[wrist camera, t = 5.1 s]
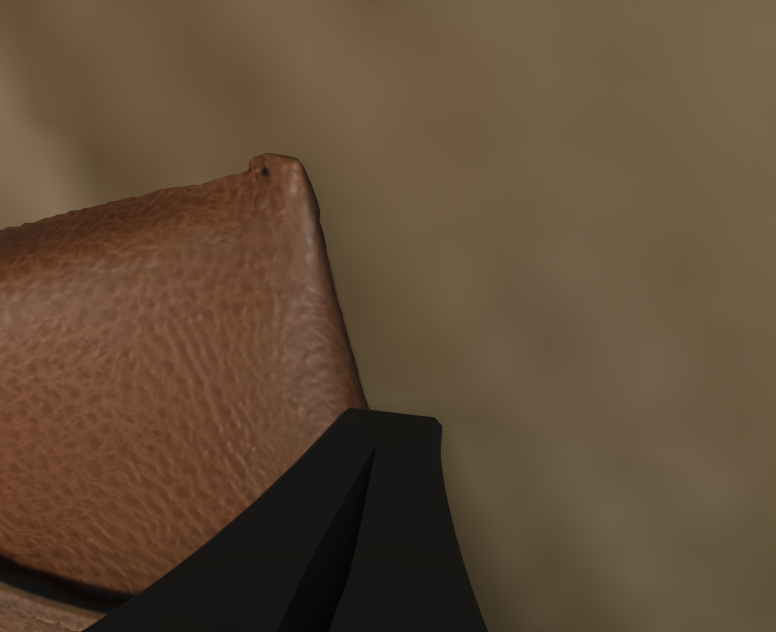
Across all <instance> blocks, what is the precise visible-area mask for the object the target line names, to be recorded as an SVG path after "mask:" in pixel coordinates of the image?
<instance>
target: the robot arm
mask: <svg viewBox="0 0 776 632" xmlns="http://www.w3.org/2000/svg"><path fill="white" fill-rule="evenodd" d="M441 437H442V425H441V424H440V423H439V422H438V421H437V419H436V418H434V417H425V416H417V415H408V414H400V413H392V412H383V411H375V410H366V409H358V408H348V409H347V410H345V411H344V412H343V413H342V414H341V415H340V416H339V417H338V418H337V419H336V420H335V421H334V422H333V423H332V424H331V425H330V427H329V428H328V429H327V430H326V431H325V432H324V433H323V434H322V435H321V436H320V437H319V438H318V439H317V440H316V441H315V443H314V444H313V445H312V446H311V447H310V448H309V449H308V450H307V451H306V452H305V453H304V454H303V455H302V456H301V457H300V458H299V459H298V460H297V461H296V462H295V463H294V464H293V465H292V466H291V467H290V468H289V469H288V470H287V471H286V472H285V473H284V474H283V475H282V476H280V477H279V478H278V479H277V480H276V481H275V482H274V483H273V484H272V485H271V486H270V487H269V488H268V489H267V490H266V491H265V492H264V493H263V494H262V495H261V496H260V497H258V498H257V499H256V500H255V501H254V502H253V503H252V504H251V505H250V506H248V507H247V508H246V509H245V510H244V511H243V512H241V513H240V514H239V515H238V516H237V517H236V518H234V519H233V520H232V521H231V522H230V523H229V524H227V525H226V526H225V527H224V528H223V529H222V530H220V531H219V532H218V533H217V534H216V535H215V536H213V537H212V538H211V539H210V540H209V541H208V542H206V543H205V544H204V545H203V546H201V547H200V548H199V549H198V550H196V551H195V552H194V553H193V554H191V555H190V556H189V557H187V558H186V559H185V560H184V561H182V562H181V563H180V564H178V565H177V566H176V567H174V568H173V569H172V570H170V571H169V572H168V573H166V574H165V575H164V576H162V577H161V578H160V579H158V580H157V581H155V582H154V583H153V584H151V585H150V586H149V587H147V588H146V589H144V590H143V591H142V592H140V593H139V594H137V595H136V596H135V597H133V598H132V599H130V600H129V601H127V602H126V603H124V604H123V605H121V606H120V607H118V608H117V609H115V610H114V611H112V612H111V613H109V614H108V615H106V616H104V617H103V618H101V619H100V620H98V621H97V622H95V623H94V624H92V625H91V626H89V627H87V628H86V629H84V630H83V631H81V632H488V631H487V628H486V626H485V623H484V620H483V618H482V615H481V612H480V610H479V607H478V604H477V601H476V598H475V595H474V593H473V590H472V587H471V584H470V581H469V577H468V574H467V571H466V568H465V565H464V562H463V559H462V555H461V552H460V548H459V545H458V541H457V538H456V534H455V530H454V526H453V522H452V517H451V513H450V509H449V505H448V501H447V496H446V491H445V485H444V479H443V472H442V465H441V453H440V452H441Z"/></svg>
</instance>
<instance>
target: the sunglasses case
mask: <svg viewBox="0 0 776 632" xmlns="http://www.w3.org/2000/svg"><path fill="white" fill-rule="evenodd" d="M319 220H320V209H319V206H318V202H317V199H316V196H315V193H314V190H313V187H312V185H311V182H310V180H309V178H308V176H307V173H306V171H305V169H304V167H303V165H302V164H301V162H300V161H299V160H298V159H296V158H293V157H289V156H284V155H278V154H271V153H266V154H263V155H259V156H255V157H254V158H252V159H251V160H250V162H249V170H248V171H245V172H243V173H240V174H235V175H230V176H226V177H223V178H220V179H215V180H212V181H210V182H207V183H204V184H201V185H191V186H183V187H174V188H166V189H161V190H157V191H155V192H153V193H149V194H146V195H143V196H140V197H139V198H137V197H130V198H126V199H121V200H118V201H114V202H108V203H107V204H104V205H98V206H93V207H90V208H84V209H81V210H75V211H69V212H68V213H66V214H60V215H56V216H53V217H50V218H44V219H42V220H40V221H37V222H34V223H24V224H23V225H22V226H20V227H7V228H5V229H3V230H0V632H81V631H83V630H84V629H86V628H87V627H89V626H91V625H92V624H94V623H95V622H97V621H98V620H100V619H101V618H103V617H104V616H106V615H108V614H109V613H111V612H112V611H114V610H115V609H117V608H118V607H120V606H121V605H123V604H124V603H126V602H127V601H129V600H130V599H132V598H133V597H135V596H136V595H137V594H139V593H140V592H142V591H143V590H144V589H146V588H147V587H149V586H150V585H151V584H153V583H154V582H155V581H157V580H158V579H160V578H161V577H162V576H164V575H165V574H166V573H168V572H169V571H170V570H172V569H173V568H174V567H176V566H177V565H178V564H180V563H181V562H182V561H184V560H185V559H186V558H187V557H189V556H190V555H191V554H193V553H194V552H195V551H196V550H198V549H199V548H200V547H201V546H203V545H204V544H205V543H206V542H208V541H209V540H210V539H211V538H212V537H213V536H215V535H216V534H217V533H218V532H219V531H220V530H222V529H223V528H224V527H225V526H226V525H227V524H229V523H230V522H231V521H232V520H233V519H234V518H236V517H237V516H238V515H239V514H240V513H241V512H243V511H244V510H245V509H246V508H247V507H248V506H250V505H251V504H252V503H253V502H254V501H255V500H256V499H257V498H258V497H260V496H261V495H262V494H263V493H264V492H265V491H266V490H267V489H268V488H269V487H270V486H271V485H272V484H273V483H274V482H275V481H276V480H277V479H278V478H279V477H280V476H282V475H283V474H284V473H285V472H286V471H287V470H288V469H289V468H290V467H291V466H292V465H293V464H294V463H295V462H296V461H297V460H298V459H299V458H300V457H301V456H302V455H303V454H304V453H305V452H306V451H307V450H308V449H309V448H310V447H311V446H312V445H313V444H314V443H315V441H316V440H317V439H318V438H319V437H320V436H321V435H322V434H323V433H324V432H325V431H326V430H327V429H328V428H329V427H330V425H331V424H332V423H333V422H334V421H335V420H336V419H337V418H338V417H339V416H340V415H341V414H342V413H343V412H344V411H345V410H347V409H348V408H358V409H366V410H369V408H368V405H367V402H366V399H365V396H364V394H363V391H362V386H361V384H360V380H359V376H358V372H357V367H356V364H355V359H354V356H353V353H352V350H351V348H350V343H349V339H348V335H347V332H346V329H345V325H344V323H343V320H342V312H341V310H340V309H339V305H338V301H337V298H336V294H335V288H334V284H333V280H332V276H331V271H330V266H329V262H328V258H327V253H326V243H325V238H324V234H323V230H322V227H321V224H320V221H319Z"/></svg>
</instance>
